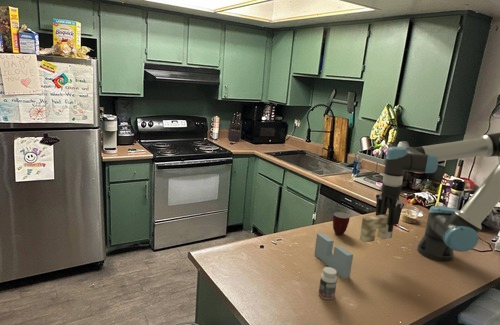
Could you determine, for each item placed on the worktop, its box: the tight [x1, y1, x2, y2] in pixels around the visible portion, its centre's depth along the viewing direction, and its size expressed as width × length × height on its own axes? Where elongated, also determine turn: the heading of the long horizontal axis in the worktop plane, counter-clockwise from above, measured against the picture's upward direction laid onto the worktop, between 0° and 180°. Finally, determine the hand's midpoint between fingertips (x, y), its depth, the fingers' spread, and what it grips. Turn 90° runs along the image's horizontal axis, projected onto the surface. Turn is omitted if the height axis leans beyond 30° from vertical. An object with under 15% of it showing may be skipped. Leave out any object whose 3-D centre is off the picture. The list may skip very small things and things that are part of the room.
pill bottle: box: [318, 266, 338, 300], centre depth 124 cm, size 6×6×10 cm
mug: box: [332, 211, 351, 236], centre depth 175 cm, size 11×8×10 cm
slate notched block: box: [313, 232, 354, 280], centre depth 144 cm, size 20×3×10 cm, turn 24°
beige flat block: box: [359, 213, 395, 244], centre depth 147 cm, size 15×3×10 cm, turn 114°
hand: (383, 235), depth 150 cm, fingers closed on beige flat block, 3 cm apart
